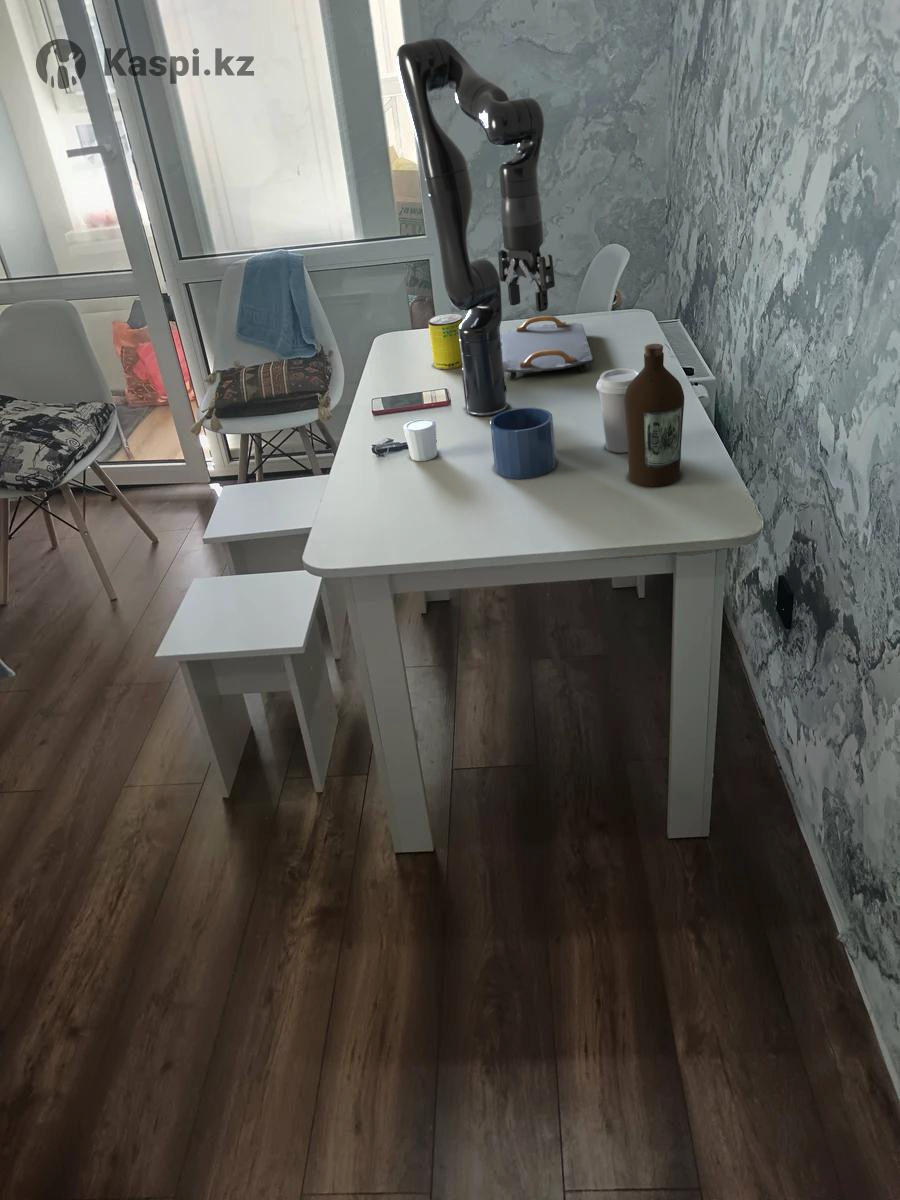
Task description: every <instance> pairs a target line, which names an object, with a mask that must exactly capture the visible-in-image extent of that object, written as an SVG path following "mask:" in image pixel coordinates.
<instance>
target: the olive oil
mask: <svg viewBox="0 0 900 1200" xmlns="http://www.w3.org/2000/svg"><path fill="white" fill-rule="evenodd" d="M663 350H664V345H663V344H661V343H649V344H646V345H645V346H644V353H643V364H644V366H643V368H642V369H641V370H640V373H639V374H638V375H637V376H636V377H635V378H634V379H633V380H632V382H631V383H630V384H629V386H628V387H627V390H626V393H625V398H624V407H625V419H626V432H627V446H628V452H627V460H628V461H627V463H628V464H627V465H628V478H629V480H630V481H631V482H632V483H634V484H636V485H639V486H642V487H651V488H652V487H653V488H655V487H663V486H668V485H670V484H673V483H674V482H676V481H678V480H679V478H680V476H681V460H682V459H681V456H682V439H683V424H684V412H685V411H684V409H685V393H684V390H683V386H682V384H681V383H680V381H679V380H678V379H677V378H676V377H675V375H673V374H672V373H671V372H670V370H668V369H667V368H666V367H665V365H664V362H665V361H664V359H665V357H664V356H665V353H664V352H663Z"/></svg>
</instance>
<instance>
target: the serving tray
mask: <svg viewBox="0 0 900 1200" xmlns="http://www.w3.org/2000/svg"><path fill="white" fill-rule="evenodd" d="M539 322H553V323H548V324H545V323H544V324H538V325H531V324H533V323H534V324H535V323H539ZM530 325H531V326H530ZM500 338H501V348H502V358H503V369H504V373H507V377H508V378H509V380H512V381H513V380H515V379H516V378H517V373H535V372H538V373H539V372H547V371H556V370H565V369H568V368H574V367H578V366H579V369H580V371H581V372H582V373H585V372H588V370H589V368H590V367H589V364H590V363H593V362H594V357H593V353H592V349H591V347H590V344H589V341H588V337H587V335H586V332H585V329H584V325H583V324H582V323H578V322H577V323H576V322H572V323H569V322H566V321H561V320H560V319H559V318H557V317H555V316H553V315H539V316H533V317H531V318H528V319H527V320H525V321H524V322H523V324H522V325H521V326H518V327H516V328H515V329H512V330H506V331H504V332H501V333H500Z"/></svg>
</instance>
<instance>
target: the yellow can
mask: <svg viewBox="0 0 900 1200" xmlns="http://www.w3.org/2000/svg"><path fill="white" fill-rule="evenodd" d="M462 316H463V315H461V314H459V313H445V314H440V315H436V316H432V317H430V318H429V319H428V320H427V324H428V332H429V340H430V346H431V354H432V360H433V366H434V368H435V369H439V370H453V369H457V368H461V367H463V364H462V356H461V348H460V340H459V331H458V329H459V325H460V324H461V323H462V321H463V317H462Z"/></svg>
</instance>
